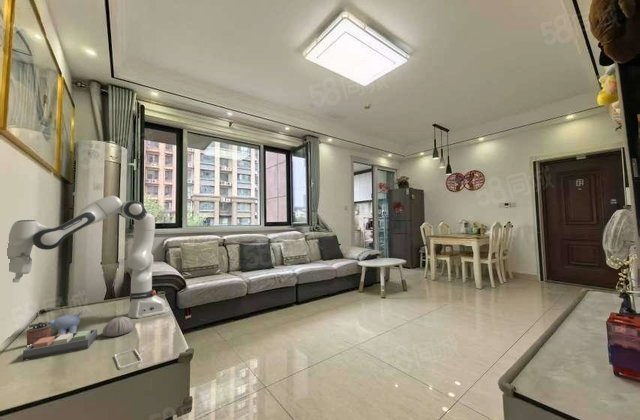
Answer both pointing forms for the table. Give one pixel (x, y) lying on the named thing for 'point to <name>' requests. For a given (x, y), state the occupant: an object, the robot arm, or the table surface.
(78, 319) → the hippopotamus toy
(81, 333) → the sage key
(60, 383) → the table surface
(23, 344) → the table surface
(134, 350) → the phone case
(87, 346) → the grey tray
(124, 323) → the sea urchin shell
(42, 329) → the lighter
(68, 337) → the cream key
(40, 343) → the terracotta key
